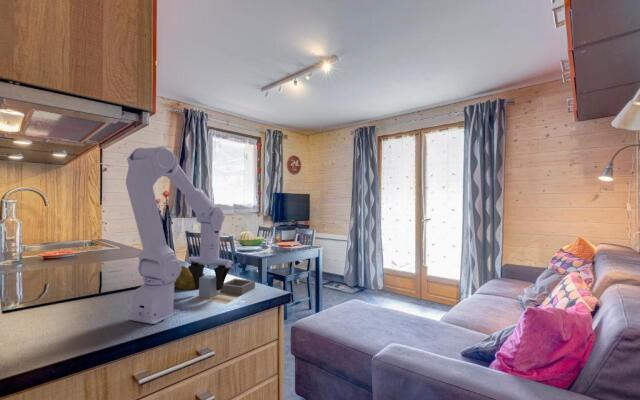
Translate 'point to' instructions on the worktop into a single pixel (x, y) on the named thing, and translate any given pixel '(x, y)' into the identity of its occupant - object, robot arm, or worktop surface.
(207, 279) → the plug
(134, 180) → the robot arm
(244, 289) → the frame
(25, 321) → the worktop surface
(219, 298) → the board
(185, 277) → the potato
